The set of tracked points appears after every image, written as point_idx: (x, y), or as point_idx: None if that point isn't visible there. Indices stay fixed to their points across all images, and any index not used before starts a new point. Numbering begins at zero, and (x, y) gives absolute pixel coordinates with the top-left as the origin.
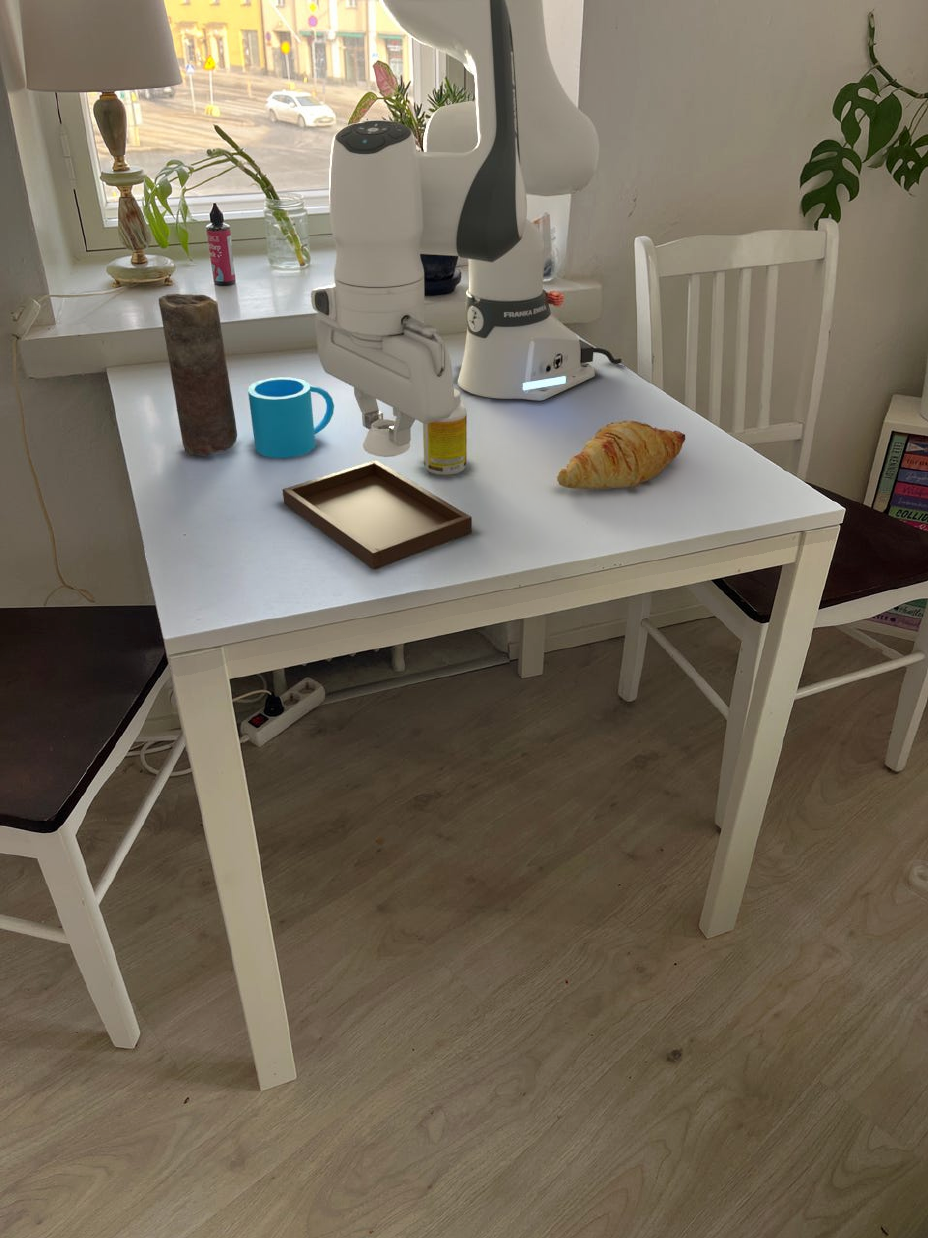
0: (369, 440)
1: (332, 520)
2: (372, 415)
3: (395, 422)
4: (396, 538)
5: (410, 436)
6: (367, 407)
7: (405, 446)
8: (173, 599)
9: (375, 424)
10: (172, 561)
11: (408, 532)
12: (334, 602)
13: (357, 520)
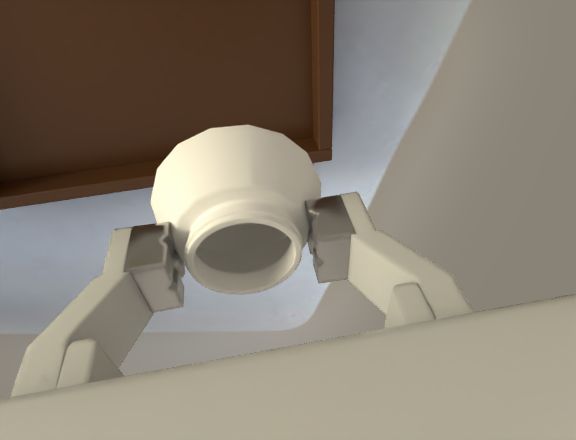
0: (247, 270)
1: None
2: (176, 296)
3: (381, 307)
4: (261, 66)
5: (362, 202)
6: (131, 321)
7: (313, 173)
8: (241, 327)
9: (204, 272)
10: (154, 322)
11: (251, 29)
12: None
13: (142, 104)
